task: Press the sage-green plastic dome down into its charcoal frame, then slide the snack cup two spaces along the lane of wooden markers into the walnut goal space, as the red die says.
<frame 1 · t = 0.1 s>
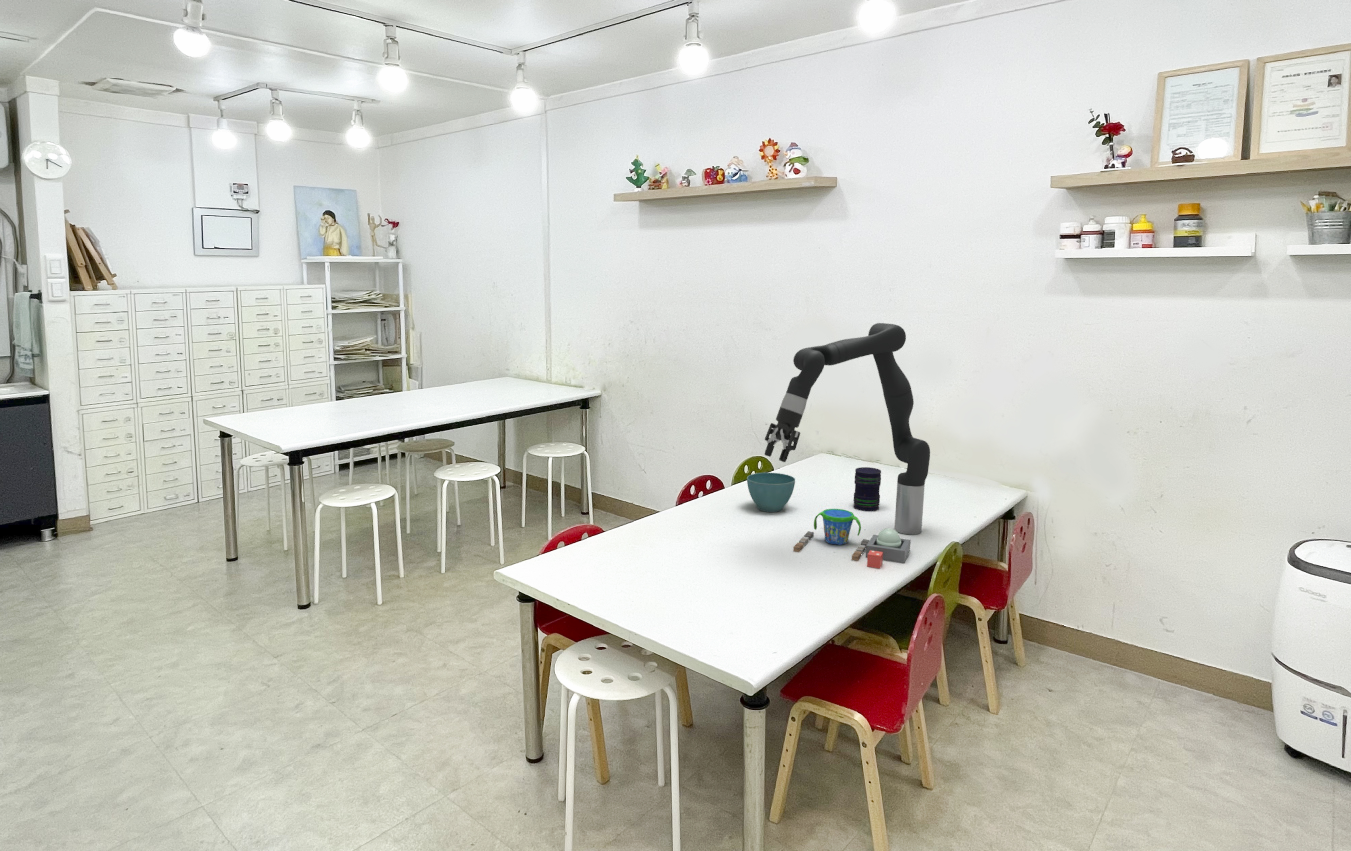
hand: (774, 458, 256), 31 cm above the table, tool tilted 20°, fingers open, 8 cm apart
snack cup: (836, 542, 274), on the table
red die: (874, 565, 252), on the table
track markers: (831, 547, 268), on the table
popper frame: (888, 554, 262), on the table
storage jar: (866, 508, 314), on the table
dome: (888, 539, 261), point 5 cm above the table, slide at 0.0 cm
teal bowl: (770, 509, 311), on the table
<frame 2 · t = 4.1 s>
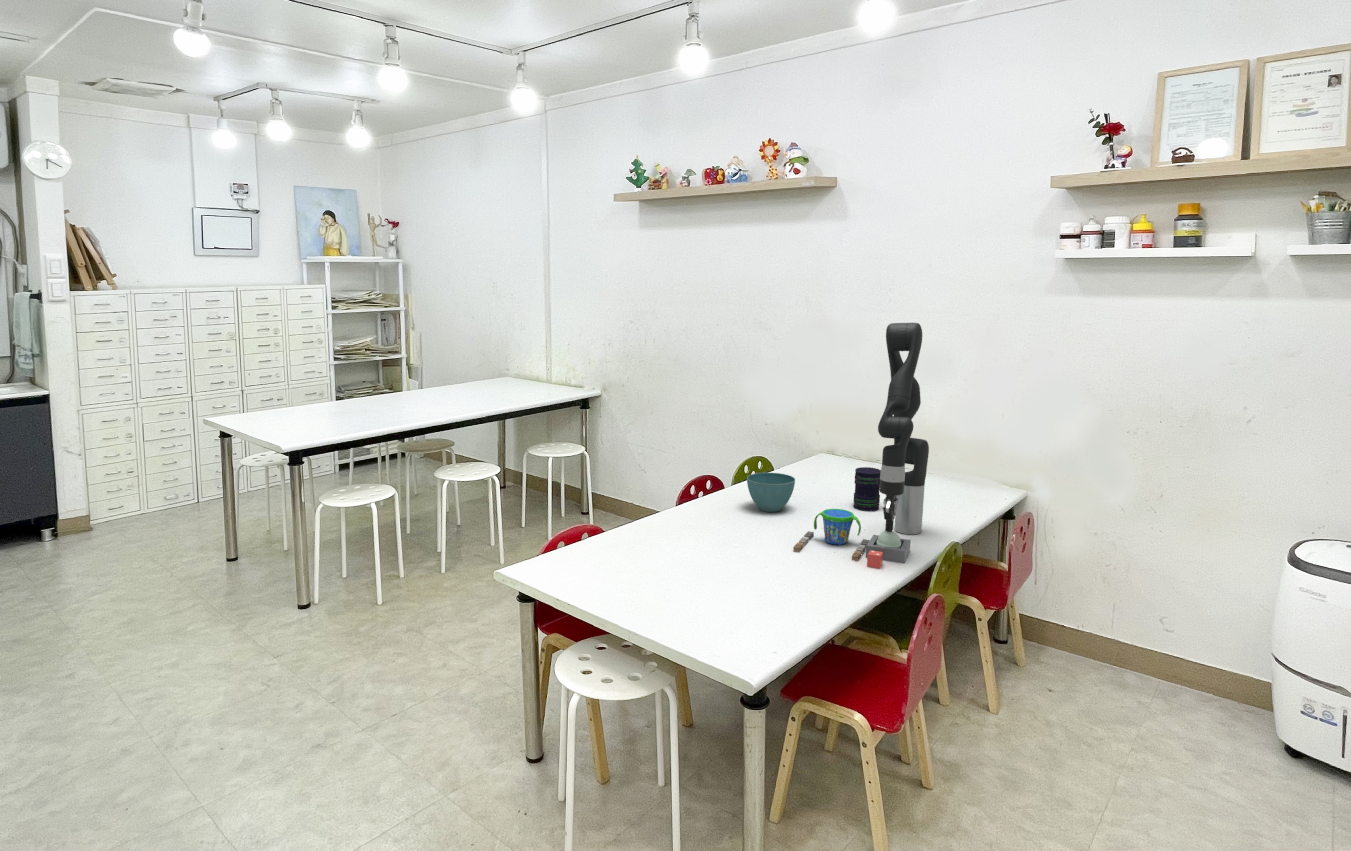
hand: (889, 530, 261), 8 cm above the table, tool pointing down, fingers closed
dome: (888, 541, 261), point 4 cm above the table, slide at 0.7 cm, touching gripper
everything else where it was.
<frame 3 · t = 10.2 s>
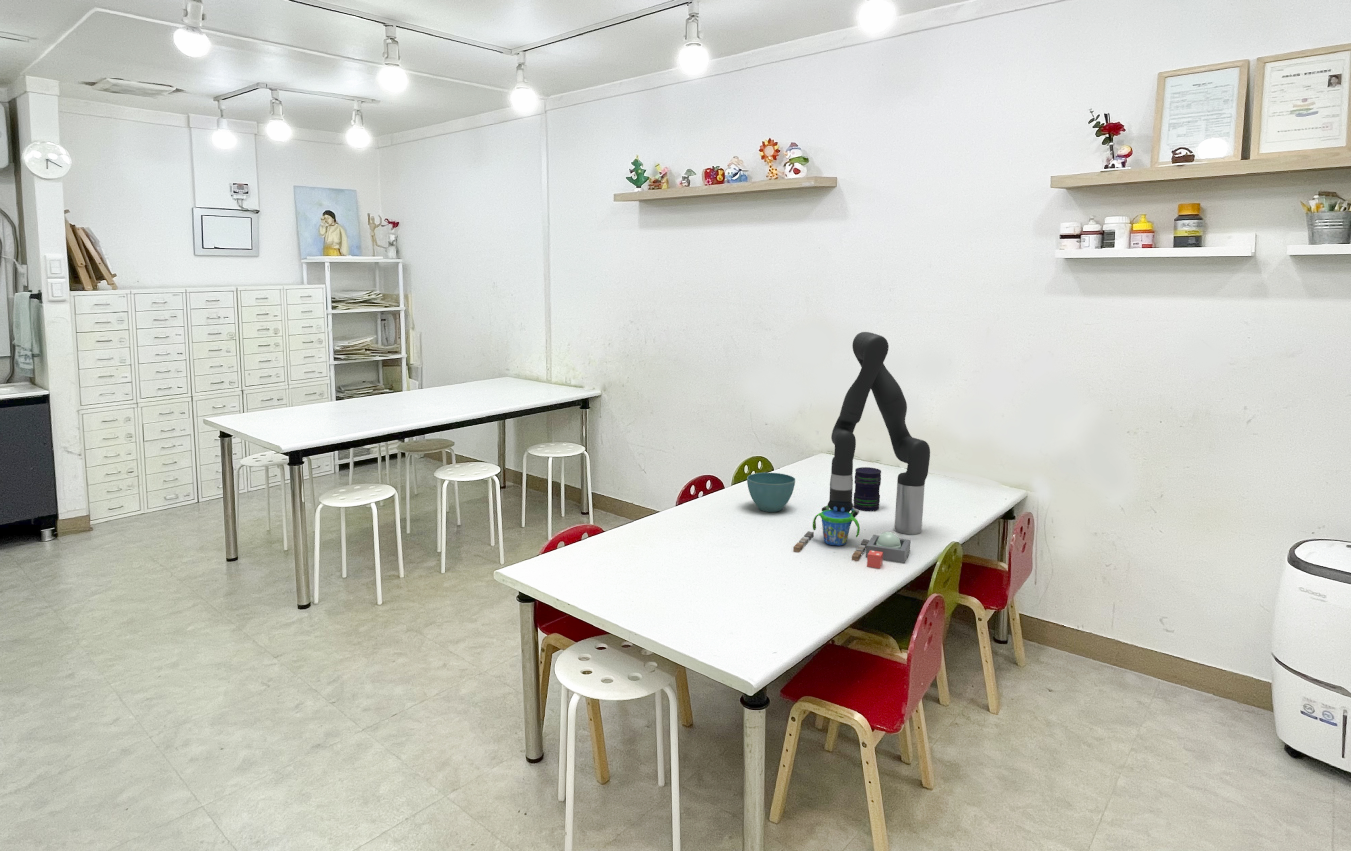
hand: (839, 535, 277), 1 cm above the table, tool pointing down, fingers closed
snack cup: (835, 543, 273), on the table, touching gripper
dome: (888, 543, 262), point 4 cm above the table, slide at 1.2 cm
everything else where it was.
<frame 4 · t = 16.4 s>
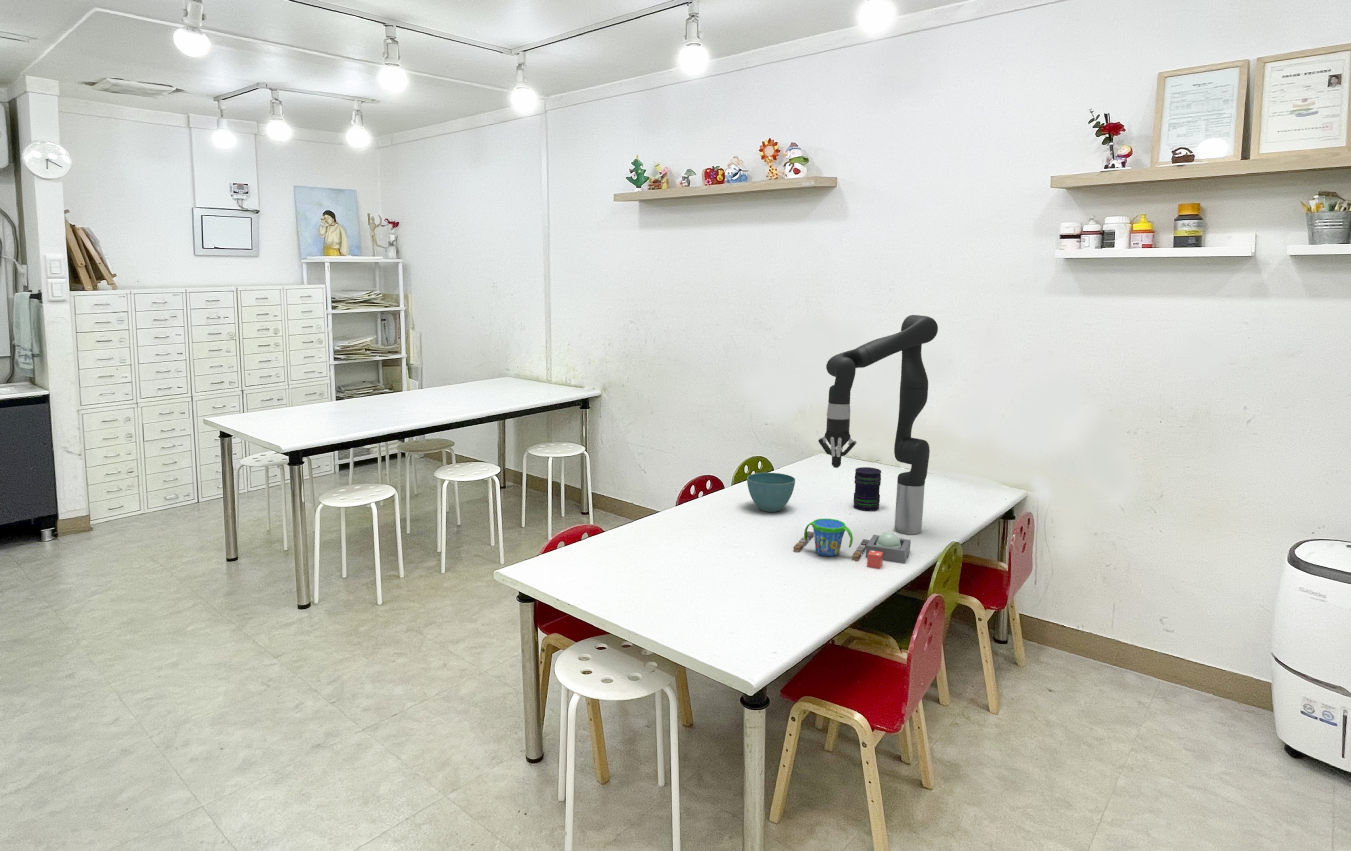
hand: (836, 467, 273), 25 cm above the table, tool pointing down, fingers closed
snack cup: (827, 553, 263), on the table
everything else where it was.
at the end: snack cup inside the target area (0.6 cm from its centre), on the table; snack cup tilted 0°; dome slide at 1.2 cm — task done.
